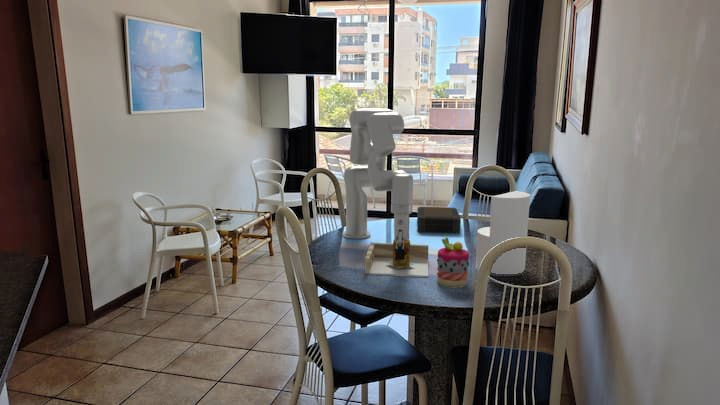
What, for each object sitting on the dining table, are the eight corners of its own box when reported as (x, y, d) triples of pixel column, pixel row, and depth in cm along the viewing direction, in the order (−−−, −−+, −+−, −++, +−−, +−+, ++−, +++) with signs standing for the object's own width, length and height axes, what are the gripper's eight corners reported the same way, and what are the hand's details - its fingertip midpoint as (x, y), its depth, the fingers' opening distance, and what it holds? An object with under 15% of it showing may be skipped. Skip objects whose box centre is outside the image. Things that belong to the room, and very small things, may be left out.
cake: (468, 278, 177) (470, 236, 174) (467, 289, 167) (469, 244, 164) (437, 276, 179) (439, 234, 176) (435, 286, 169) (436, 242, 166)
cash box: (461, 234, 237) (462, 218, 235) (417, 233, 239) (417, 217, 237) (457, 222, 261) (457, 207, 260) (417, 221, 263) (417, 206, 262)
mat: (370, 257, 200) (371, 256, 200) (427, 260, 197) (427, 258, 197) (364, 274, 180) (364, 272, 180) (428, 277, 178) (428, 275, 178)
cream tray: (370, 257, 200) (371, 242, 199) (427, 260, 197) (428, 245, 196) (364, 274, 180) (365, 257, 179) (428, 277, 178) (428, 260, 177)
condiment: (399, 268, 182) (400, 236, 180) (385, 262, 189) (385, 230, 186) (415, 265, 186) (416, 233, 184) (400, 259, 193) (401, 228, 190)
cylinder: (533, 269, 187) (539, 193, 182) (509, 280, 175) (514, 200, 170) (491, 259, 199) (495, 187, 194) (466, 269, 187) (470, 193, 182)
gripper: (411, 213, 174) (409, 264, 177) (412, 203, 190) (411, 250, 194) (389, 213, 175) (388, 263, 178) (392, 203, 191) (391, 249, 195)
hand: (400, 256), depth 186 cm, fingers closed on condiment, 6 cm apart
